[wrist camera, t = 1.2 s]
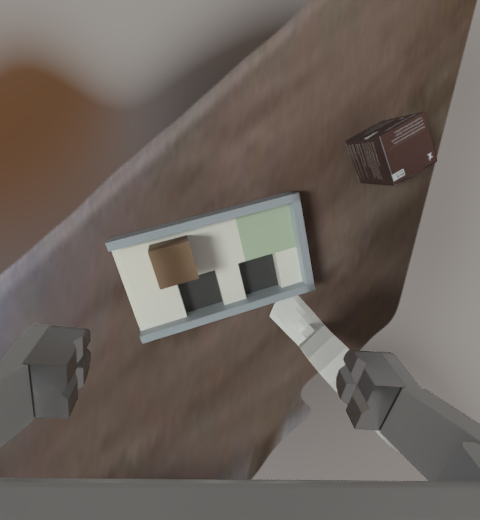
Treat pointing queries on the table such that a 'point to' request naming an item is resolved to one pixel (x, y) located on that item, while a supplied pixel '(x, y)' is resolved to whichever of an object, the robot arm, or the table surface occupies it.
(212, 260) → the track
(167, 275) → the walnut block
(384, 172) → the box
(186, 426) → the table surface
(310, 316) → the heart sculpture
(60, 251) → the table surface
